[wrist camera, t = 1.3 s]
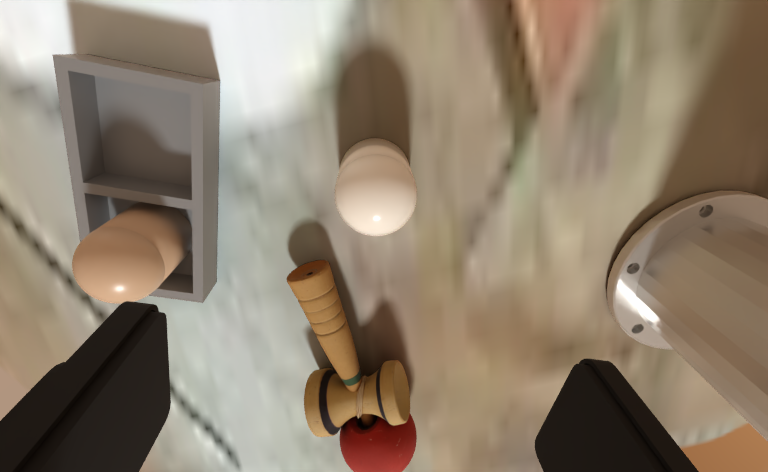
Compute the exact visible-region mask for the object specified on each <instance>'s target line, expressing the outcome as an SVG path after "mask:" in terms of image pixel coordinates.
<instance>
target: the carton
mask: <svg viewBox="0 0 768 472" xmlns="http://www.w3.org/2000/svg"><path fill="white" fill-rule="evenodd" d="M53 60H54V67H55V74H56V81H57V87H58V94H59V101H60V108H61V114H62V121H63V128H64V135H65V142H66V148H67V155H68V162H69V169H70V175H71V182H72V189H73V196H74V203H75V209H76V216H77V223H78V230H79V237H80V244H79V245H78V247H77V248H76V250H75V253H74V256H73V261H72V268H73V274H74V277H75V279H76V281H77V283H78V284H79V286H80V287H81V288H82V289H83V290H84V291H85V292H86V293H87V294H89V295H90V296H92V297H94V298H96V299H98V300H100V301H104V302H108V303H116V304H117V303H123V302H126V301H130V302H134V301H137V300H140V299H142V298H144V297H146V296H148V295H149V296H157V297H164V298H171V299H179V300H186V301H194V302H201V303H203V302H204V300H205V299H206V297H207V296H208V294H209V293H210V291H211V290H212V288H213V287H214V285H215V284H216V282H217V228H218V169H219V109H220V81H219V80H214V79H209V78H204V77H199V76H194V75H189V74H184V73H179V72H174V71H169V70H164V69H159V68H154V67H149V66H144V65H138V64H133V63H128V62H123V61H118V60H113V59H108V58H103V57H98V56H93V55H88V54H66V55H53Z"/></svg>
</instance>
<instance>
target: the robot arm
mask: <svg viewBox="0 0 768 472" xmlns="http://www.w3.org/2000/svg"><path fill="white" fill-rule="evenodd" d="M607 300H608V306H609V309H610V311H611V314H612V316H613V318H614V319H615V320H616V322H617V323H618V324H619V326H620V327H621V328H622V329H623V330H624V331H625V332H626V333H627V334H628V335H629V336H630V337H632V338H633V339H635V340H637V341H638V342H640V343H642V344H645V345H648V346H651V347H655V348H662V349H674V350H675V351H676V352H677V353H678V354H679V355H680V356H681V357H682V358H683V359H684V360H685V361H686V362H687V363H688V364H689V365H690V366H691V367H693V368H694V369H695V370H696V371H697V372H698V373H699V374H700V375H701V376H702V377H703V378H704V379H705V380H706V381H707V382H708V383H709V384H710V385H711V386H712V387H713V388H714V389H715V390H716V391H717V392H718V393H719V394H720V395H721V396H722V397H723V398H724V399H725V400H726V401H727V402H728V403H729V404H730V405H731V406H732V407H733V408H734V409H735V410H736V411H737V412H738V413H739V414H740V415H741V416H742V417H743V418H744V419H745V420H746V421H747V422H748V423H749V424H751V425H752V426H753V427H754V428H755V429H756V430H757V431H758V432H759V433H760V434H761V435H762V436H763V437H764V438H765V439H766V440H767V441H768V199H766V198H763V197H761V196H758V195H755V194H752V193H747V192H742V191H715V192H709V193H704V194H699V195H697V196H694V197H691V198H688V199H685V200H682V201H680V202H678V203H676V204H674V205H672V206H670V207H669V208H667V209H665V210H663V211H662V212H660V213H659V214H657V215H656V216H654V217H653V218H652V219H650V220H649V221H647V222H646V223H645V224H644V225H643V226H642V227H641V228H640V229H639V230H638V231H637V232H636V233H635V234H634V235H633V236H632V237H631V238H630V239H629V241H628V242H627V243H626V244H625V246H624V247H623V248H622V250H621V251H620V253H619V255H618V257H617V258H616V260H615V262H614V264H613V267H612V269H611V272H610V275H609V278H608V286H607ZM170 403H171V401H170V381H169V360H168V340H167V320H166V315H165V313H161V312H159V311H158V307H157V306H156V305H154V304H146V303H138V302H130V301H126V302H123V303H122V304H121V305H120V306H119V307H118V308H117V309H116V310H115V311H114V312H113V313H112V314H111V315H110V316H109V317H108V318H107V319H106V320H105V321H104V322H103V323H102V324H101V326H100V327H99V328H98V329H97V330H96V331H95V332H94V333H93V334H92V335H91V336H90V337H89V338H88V339H87V340H86V341H85V342H84V343H83V344H82V346H81V347H80V348H79V349H78V350H77V351H76V352H75V353H74V354H73V355H72V356H71V357H70V358H69V359H68V360H67V361H66V362H63V363H61V364H58V365H56V366H55V367H54V368H52V369H51V370H50V371H49V372H48V373H47V374H46V375H45V376H44V377H43V378H42V379H41V380H40V381H39V382H38V383H37V384H36V385H35V386H34V387H33V388H32V389H31V390H30V391H29V392H28V393H27V394H26V395H25V396H24V397H23V398H22V399H21V400H20V401H19V402H18V403H17V405H16V406H15V407H14V408H13V409H12V410H11V411H10V412H9V413H8V414H7V415H6V416H5V417H4V418H3V419H2V420H1V421H0V472H139V470H140V469H141V467H142V465H143V463H144V461H145V459H146V457H147V455H148V454H149V452H150V450H151V448H152V446H153V444H154V442H155V440H156V438H157V437H158V435H159V433H160V431H161V429H162V427H163V425H164V423H165V421H166V419H167V417H168V414H169V410H170ZM535 451H536V454H537V457H538V459H539V462H540V464H541V467H542V469H543V471H544V472H698V470H697V469H696V468H695V466H694V465H693V464H692V463H691V461H690V460H689V459H688V458H687V457H686V455H685V454H684V452H683V451H682V450H681V449H680V447H679V446H678V445H677V444H676V442H675V441H674V440H673V439H672V437H671V436H670V435H669V434H668V432H667V431H666V430H665V428H664V427H663V426H662V425H661V423H660V422H659V421H658V420H657V418H656V417H655V416H654V415H653V413H652V412H651V411H650V410H649V408H648V407H647V406H646V404H645V403H644V402H643V401H642V399H641V398H640V397H639V396H638V394H637V393H636V392H635V391H634V389H633V388H632V387H631V386H630V384H629V383H628V382H627V380H626V379H625V378H624V377H623V375H622V374H621V373H620V372H619V370H618V369H617V368H616V367H615V366H614V365H613V364H612V363H611V362H609V361H602V360H594V359H583V360H581V361H580V363H579V364H576V365H574V367H573V368H572V370H571V372H570V374H569V376H568V378H567V380H566V381H565V383H564V385H563V387H562V389H561V391H560V393H559V395H558V397H557V399H556V401H555V402H554V404H553V406H552V408H551V410H550V412H549V414H548V416H547V418H546V420H545V422H544V423H543V425H542V427H541V429H540V431H539V433H538V435H537V437H536V440H535Z"/></svg>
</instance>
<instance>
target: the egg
mask: <svg viewBox="0 0 768 472" xmlns="http://www.w3.org/2000/svg"><path fill="white" fill-rule="evenodd" d="M416 202H417V187H416V183H415V180H414V177H413V174H412V171H411V168H410V165H409V163H408V160H407V158H406V156H405V154H404V153H403V151H402V150H401V149H400V148H399V147H398V146H396V145H395V144H394V143H392V142H390V141H387V140H384V139H379V138H370V139H365V140H362V141H360V142H358V143H356V144H354V145H353V146H352V147H351V148H350V149H349V150H348V151H347V152H346V154H345V155H344V157H343V159H342V162H341V165H340V169H339V173H338V177H337V181H336V186H335V203H336V207H337V210H338V212H339V214H340V216H341V217H342V219H343V220H344V221H345V222H346V224H347V225H349V226H350V227H351V228H352V229H354V230H355V231H357V232H359V233H362V234H365V235H369V236H382V235H387V234H390V233H393V232H395V231H397V230H398V229H400V228H401V227H402V226H403V225H404V224H405V223H406V222H407V221H408V220H409V219H410V217H411V216H412V214H413V212H414V209H415V206H416Z"/></svg>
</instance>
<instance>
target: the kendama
mask: <svg viewBox="0 0 768 472" xmlns="http://www.w3.org/2000/svg"><path fill="white" fill-rule="evenodd" d="M287 282H288V284H289V285H290V287H291V289H292V291H293V292H294V294H295V296H296V298H297V299H298V301H299V303H300V305H301V307H302V309H303V310H304V313H305V315H306V317H307V319H308V320H309V322H310V325H311V327H312V329H313V331H314V332H315V334H316V336H317V338H318V340H319V342H320V344H321V346H322V348H323V350H324V352H325V353H326V355H327V357H328V359H329V360H330V362H331V363H332V365H333V367H334V368H335V370H336V371H337V373H336V372H335V371H334V370H333V369H332V368H325V369H320V370H316V371H314V372H313V373H312V374H311V375H310V376H309V378H308V380H307V383H306V388H305V395H304V408H305V415H306V419H307V423H308V426H309V428H310V430H311V431H312V433H313V434H314V435H316V436H318V437H325V436H333V435H335V434H337V432H338V431H339V430H340V428H341V431H340V447H341V451H342V454H343V457H344V459H345V461H346V463H347V464H348V466H349V467H350V468H351V469H352V470H353V471H354V472H402V471H403V470H404V469H405V468H406V466H407V465H408V464H409V462H410V461H411V459H412V457H413V454H414V451H415V447H416V438H417V437H416V428H415V424H414V421H413V418H412V416H411V414H410V395H409V386H408V381H407V377H406V373H405V370H404V368H403V366H402V364H401V363H400V362H399V361H398V360H392V361H385V362H384V363H383V364H382V366H381V367H380V368H379V369H378V370H377V371H376V372H375V373H374V374H373V375H371V376H369V377H367V376H366V375H364V376H363V377H362V376H361V372H360V367H359V362H358V358H357V354H356V349H355V346H354V342H353V338H352V335H351V332H350V328H349V325H348V322H347V320H346V316H345V313H344V310H343V308H342V304H341V301H340V298H339V296H338V291H337V288H336V285H335V284H334V278H333V275H332V271H331V268H330V264H329V262H328V261H326V260H317V261H313V262H309V263H306V264H304V265H302V266H300V267H298V268H296V269H295V270H293V271H292V272H291V273H290V274H289V275H288V277H287Z"/></svg>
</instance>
